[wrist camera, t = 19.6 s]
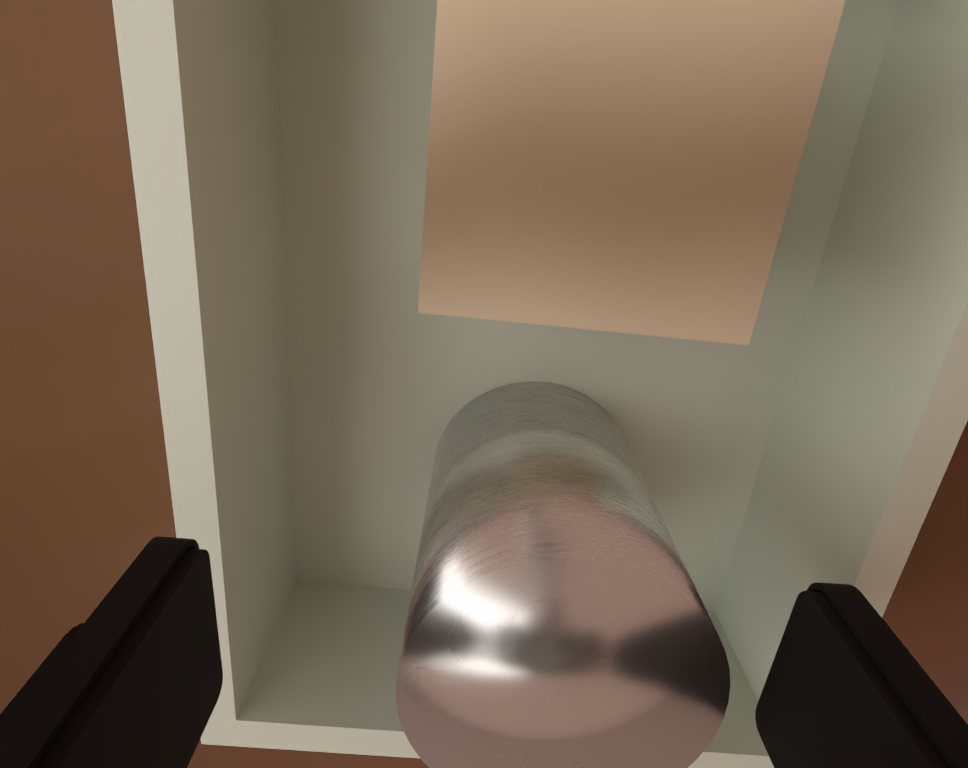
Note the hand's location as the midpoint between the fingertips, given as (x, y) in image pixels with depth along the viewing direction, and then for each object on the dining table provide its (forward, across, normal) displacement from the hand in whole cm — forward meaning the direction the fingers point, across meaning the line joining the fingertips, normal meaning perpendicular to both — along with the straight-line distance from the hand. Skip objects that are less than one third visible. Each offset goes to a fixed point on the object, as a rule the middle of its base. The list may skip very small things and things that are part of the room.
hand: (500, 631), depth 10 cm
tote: (+7, -1, -3) cm, 8 cm away
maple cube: (+6, -1, -7) cm, 10 cm away
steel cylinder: (+6, -1, +1) cm, 6 cm away
